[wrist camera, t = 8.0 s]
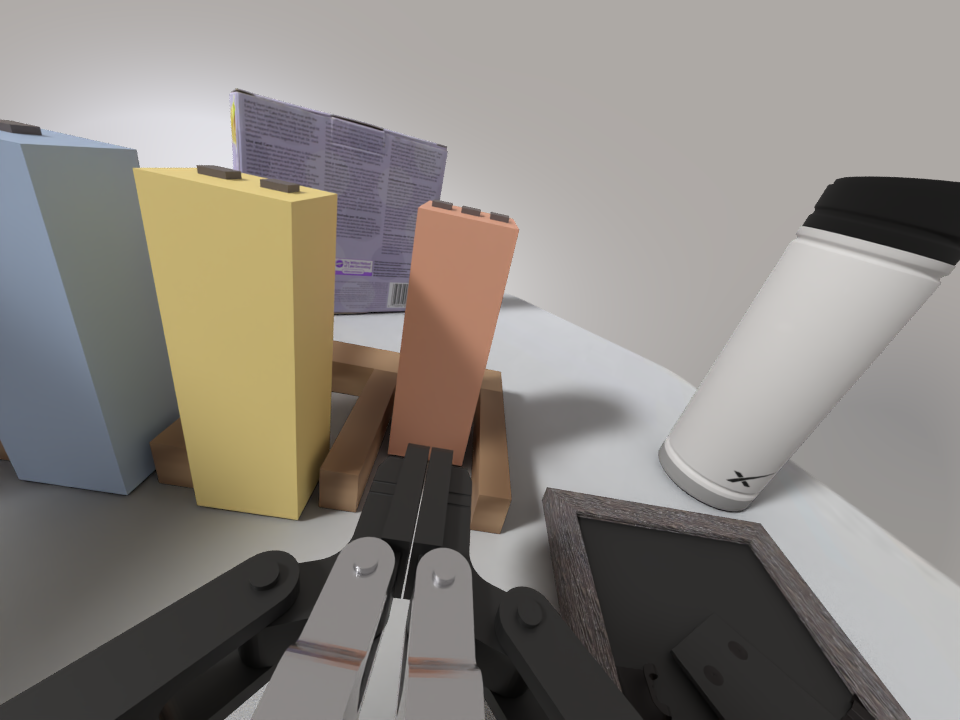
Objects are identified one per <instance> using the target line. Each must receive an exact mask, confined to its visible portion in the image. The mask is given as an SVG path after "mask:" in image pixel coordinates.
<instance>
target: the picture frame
mask: <svg viewBox="0 0 960 720" xmlns="http://www.w3.org/2000/svg"><path fill="white" fill-rule="evenodd" d="M542 502H543V509H544V515H545V521H546V527H547V533H548V539H549V545H550V551H551V557H552V564H553V570H554V576H555V582H556V588H557V594H558V600H559V606H560V612H561V618H562V619H563V620H564V621H565V622H566V624H567V625H568V626H569V627H570V629H571V630H572V631H573V632H574V634H575V635H576V636H577V637H578V639H579V640H580V641H581V642H582V644H583V645H584V646H585V647H586V649H587V650H588V651H589V652H590V654H591V655H592V656H593V657H594V659H595V660H596V661H597V662H598V664H599V665H600V666H601V667H602V669H603V670H604V671H605V672H606V674H607V675H608V676H609V677H610V679H611V680H612V681H613V682H614V684H615V685H616V686H617V687H618V688H619V690H620V691H621V692H622V693H623V695H624V696H625V697H626V698H627V700H628V701H629V702H630V703H631V705H632V706H633V707H634V708H635V710H636V711H637V712H638V713H639V715H640V716H641V717H642V718H643V720H911V719H910V718H909V716H908V715H907V714H906V712H905V711H904V710H903V708H902V707H901V706H900V705H899V703H898V702H897V701H896V699H895V698H894V697H893V695H892V694H891V693H890V692H889V690H888V689H887V688H886V686H885V685H884V684H883V682H882V681H881V680H880V679H879V677H878V676H877V675H876V673H875V672H874V671H873V669H872V668H871V667H870V666H869V664H868V663H867V662H866V660H865V659H864V658H863V656H862V655H861V654H860V652H859V651H858V650H857V649H856V647H855V646H854V645H853V643H852V642H851V641H850V639H849V638H848V637H847V636H846V634H845V633H844V632H843V630H842V629H841V628H840V626H839V625H838V624H837V623H836V621H835V620H834V619H833V617H832V616H831V615H830V613H829V612H828V611H827V610H826V608H825V607H824V606H823V604H822V603H821V602H820V600H819V599H818V598H817V597H816V595H815V594H814V593H813V591H812V590H811V589H810V587H809V586H808V585H807V583H806V582H805V581H804V580H803V578H802V577H801V576H800V574H799V573H798V572H797V570H796V569H795V568H794V567H793V565H792V564H791V563H790V561H789V560H788V559H787V557H786V556H785V555H784V554H783V552H782V551H781V550H780V548H779V547H778V546H777V544H776V543H775V542H774V541H773V539H772V538H771V537H770V535H769V534H768V533H767V531H766V530H765V529H764V528H763V526H762V525H761V524H760V523H754V522H748V521H743V520H737V519H731V518H725V517H719V516H713V515H707V514H701V513H695V512H689V511H684V510H678V509H672V508H666V507H660V506H654V505H648V504H642V503H636V502H630V501H625V500H619V499H613V498H607V497H601V496H595V495H589V494H583V493H577V492H571V491H566V490H560V489H554V488H548V487H547V489H546V491H545V494H544V496H543V499H542Z"/></svg>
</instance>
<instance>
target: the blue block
mask: <svg viewBox="0 0 960 720" xmlns="http://www.w3.org/2000/svg"><path fill="white" fill-rule="evenodd" d="M133 168H140V166H139V161H138V156H137V150H135V149H131V148H127V147H122V146H117V145H113V144H108V143H104V142H99V141H94V140H90V139H86V138H81V137H76V136H72V135H67V134H63V133H58V132H54V131H49V130H44V129H40V127H37V126H33V125H28V124H23V123H19V122H14V121H9V120H0V440H1V442H2V445H3V447H4V449H5V451H6V453H7V455H8V457H9V459H10V461H11V463H12V466H13V468H14V470H15V472H16V474H17V476H18V478H19V479H20V480H27V481H34V482H41V483H48V484H55V485H61V486H68V487H75V488H82V489H89V490H96V491H102V492H109V493H116V494H123V495H128V494H129V493H130V492H131V491H132V490H134V489H135V488H136V487H137V486H138V485H139V484H140V483H141V482H142V481H143V480H144V479H146V478H147V477H148V476H149V475H150V474H151V473H152V472H153V471H154V470H155V469H156V468H155V464H154V460H153V456H152V452H151V448H150V444H149V442H150V441H152V440H153V439H154V438H155V437H156V436H158V435H159V434H160V433H161V432H162V431H164V430H165V429H166V428H167V427H169V426H170V425H171V424H172V423H173V422H175V421H176V420H177V419H178V418H180V413H179V408H178V403H177V397H176V392H175V387H174V382H173V377H172V371H171V366H170V361H169V356H168V350H167V345H166V340H165V335H164V330H163V324H162V319H161V314H160V309H159V303H158V298H157V293H156V288H155V283H154V277H153V272H152V267H151V262H150V256H149V251H148V246H147V241H146V236H145V230H144V225H143V220H142V215H141V209H140V204H139V199H138V194H137V189H136V183H135V178H134V173H133Z"/></svg>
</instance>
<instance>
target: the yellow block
mask: <svg viewBox="0 0 960 720" xmlns="http://www.w3.org/2000/svg"><path fill="white" fill-rule="evenodd" d="M133 173H134V178H135V183H136V189H137V194H138V199H139V204H140V209H141V215H142V220H143V225H144V230H145V236H146V241H147V246H148V251H149V256H150V262H151V267H152V272H153V277H154V283H155V288H156V293H157V298H158V303H159V309H160V314H161V319H162V324H163V330H164V335H165V340H166V345H167V350H168V356H169V361H170V366H171V371H172V377H173V382H174V387H175V392H176V397H177V403H178V408H179V413H180V418H181V424H182V429H183V434H184V439H185V444H186V450H187V455H188V460H189V465H190V470H191V476H192V481H193V486H194V491H195V497H196V502H197V505H199V506H206V507H213V508H219V509H226V510H233V511H240V512H247V513H254V514H260V515H267V516H274V517H281V518H288V519H295V520H298V519H299V517H300V515H301V513H302V511H303V509H304V507H305V505H306V503H307V502H308V500H309V498H310V496H311V494H312V492H313V490H314V488H315V486H316V484H317V483H318V481H319V478H320V468H321V466H322V464H323V462H324V460H325V459H326V457H327V455H328V453H329V451H330V419H331V387H332V355H333V323H334V291H335V259H336V227H337V195H338V194H336V193H331V192H327V191H322V190H318V189H313V188H309V187H304V186H300V184H296V183H291V182H287V181H282V180H278V179H268V178H263V177H258V176H254V175H249V174H245V173H241V171H237V170H232V169H228V168H223V167H218V166H210V165H204V166H203V165H197V168H133Z"/></svg>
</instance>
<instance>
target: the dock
mask: <svg viewBox="0 0 960 720" xmlns="http://www.w3.org/2000/svg"><path fill="white" fill-rule="evenodd" d="M399 358H400V353H397V352H392V351H387V350H381V349H376V348H371V347H365V346H360V345H355V344H349V343H344V342H339V341H333V355H332V387H331V391H333V392H338V393H344V394H350V395H355V396H359V398H358V400H357V402H356V404H355V405H354V407H353V409H352V411H351V413H350V415H349V416H348V418H347V420H346V422H345V424H344V426H343V427H342V429H341V431H340V433H339V435H338V437H337V438H336V440H335V442H334V444H333V446H332V448H331V449H330V451H329V453H328V455H327V457H326V459H325V460H324V462H323V464H322V466H321V468H320V478H319V507H323V508H330V509H336V510H343V511H350V512H356V510H357V508H358V505H359V502H360V500H361V497H362V494H363V492H364V489H365V486H366V484H367V481H368V478H369V476H370V473H371V470H372V467H373V465H374V462H375V459H376V457H377V454H378V451H379V449H380V446H381V443H382V441H383V438H384V435H385V432H386V430H387V427H388V424H389V422H390V419H391V416H392V414H393V407H394V399H395V391H396V383H397V375H398V366H399ZM149 444H150V448H151V452H152V456H153V460H154V464H155V468H156V472H157V476H158V480H159V483H163V484H169V485H176V486H183V487H189V488H194V486H193V481H192V476H191V470H190V465H189V460H188V455H187V450H186V444H185V439H184V434H183V429H182V424H181V418H178V419H177V420H176V421H175V422H173V423H172V424H171V425H170V426H169V427H167V428H166V429H165V430H164V431H162V432H161V433H160V434H159V435H158V436H156V437H155V438H154V439H153V440H152V441H150V442H149ZM0 459H3V460H9V461H10V459H9V457H8V455H7V453H6V451H5V449H4V447H3V445H2V442H1V440H0ZM471 480H472V496H471V498H472V500H471V523H470V530H477V531H483V532H490V533H497V534H500V532H501V529H502V526H503V523H504V520H505V517H506V514H507V512H508V509H509V506H510V503H511V500H512V499H511V487H510V475H509V463H508V451H507V439H506V427H505V415H504V403H503V391H502V379H501V372H499V371H494V370H488V369H485V372H484V376H483V381H482V385H481V389H480V393H479V397H478V401H477V405H476V409H475V413H474V425H473V450H472V474H471Z"/></svg>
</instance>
